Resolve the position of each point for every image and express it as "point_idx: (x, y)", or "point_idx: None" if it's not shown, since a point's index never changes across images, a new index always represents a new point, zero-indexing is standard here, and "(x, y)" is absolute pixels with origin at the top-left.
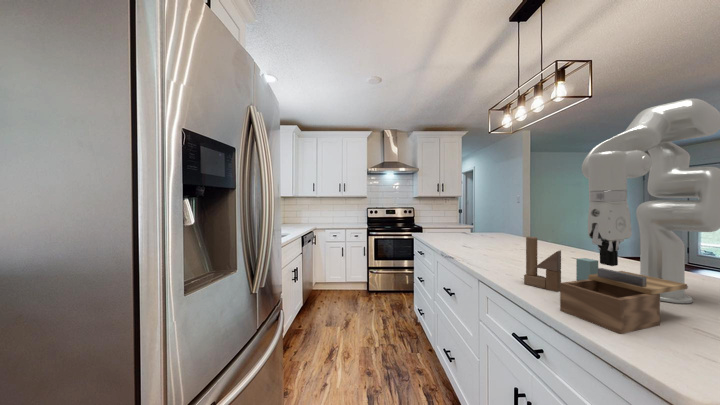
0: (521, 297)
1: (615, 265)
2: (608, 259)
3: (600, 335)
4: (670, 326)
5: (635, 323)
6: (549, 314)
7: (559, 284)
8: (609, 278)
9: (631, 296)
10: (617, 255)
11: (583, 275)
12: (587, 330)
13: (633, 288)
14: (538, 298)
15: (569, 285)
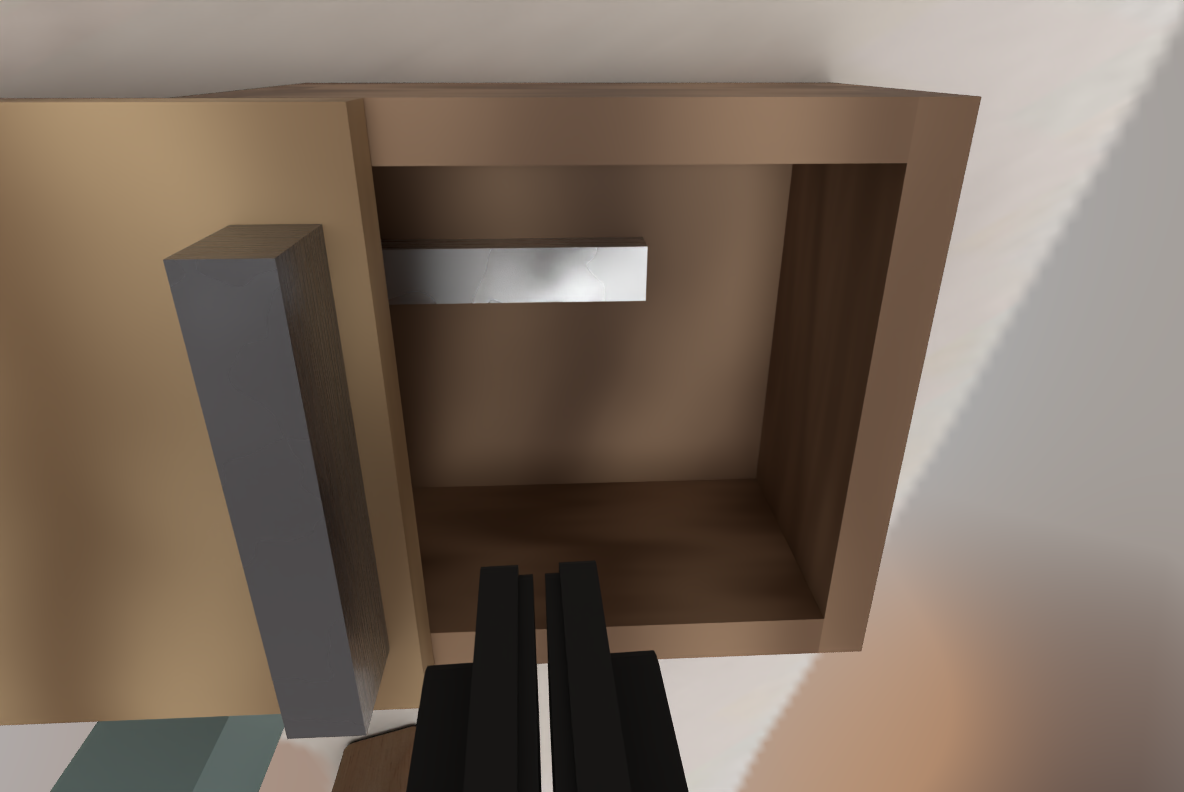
0: (785, 703)
1: (517, 571)
2: (659, 687)
3: (995, 118)
4: (237, 35)
5: (651, 84)
6: (925, 463)
7: (366, 780)
8: (371, 555)
9: (677, 148)
10: (476, 723)
11: (226, 789)
12: (984, 205)
13: (381, 290)
14: (688, 669)
15: (874, 578)
